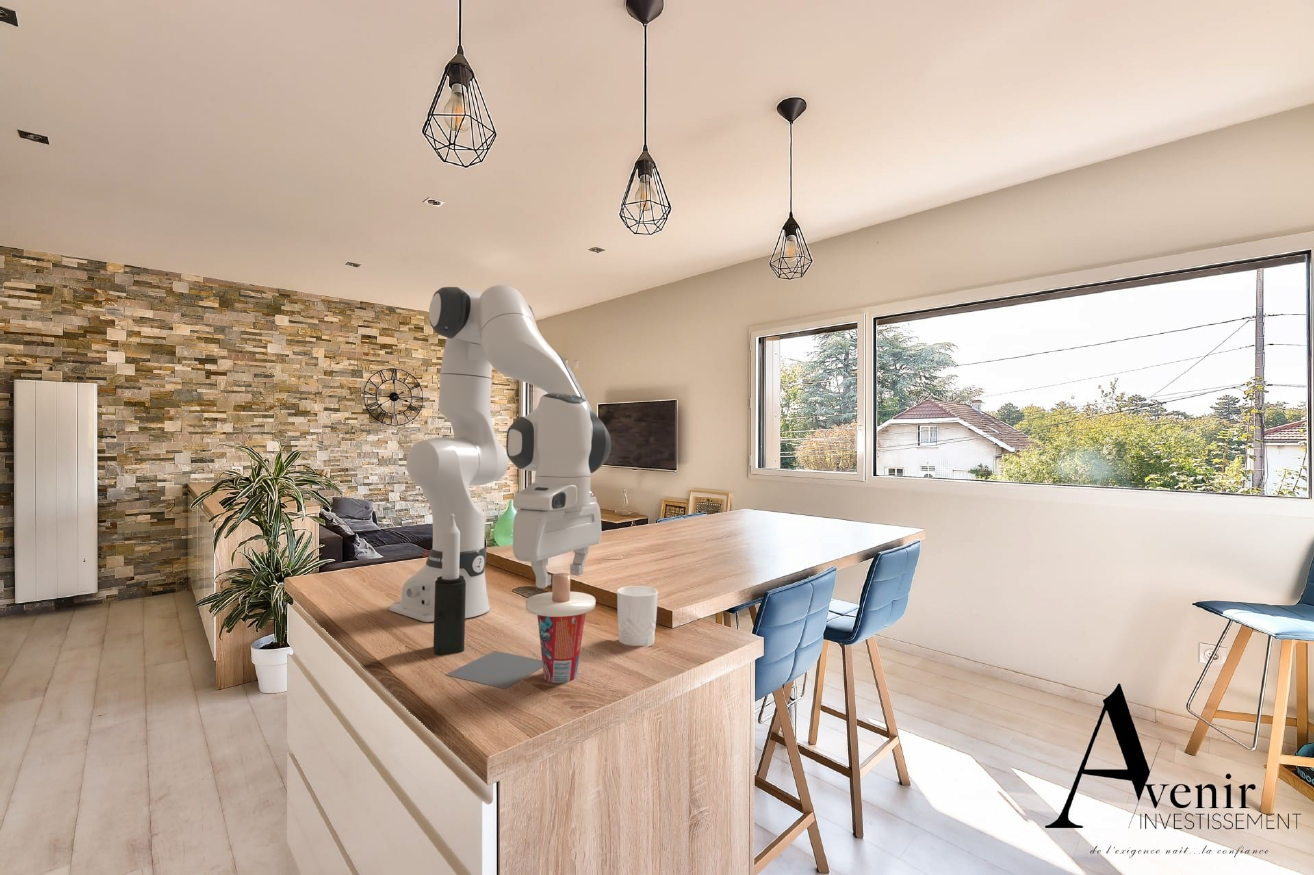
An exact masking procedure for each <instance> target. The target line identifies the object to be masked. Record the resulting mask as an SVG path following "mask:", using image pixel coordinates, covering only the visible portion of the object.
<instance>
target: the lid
mask: <svg viewBox="0 0 1314 875" xmlns="http://www.w3.org/2000/svg"><path fill="white" fill-rule="evenodd" d="M551 584H552V585H551V586H552V591H549V592H542V593H538V594H535V595H531V596H530V597H528V598H527V599H525V610H526V611H527V612H528V613H530V614H532V615H541V616H550V617H564V616H574V615H579V614H584V613H586V614H587V613H590V612H591V611H593V610H594V609H595V608H596V601H597V600H596V598H595V596H593V595H592V594H589V593H586V592H579V591H571V574H570V573H566V572H560V573H553V574H552V582H551Z"/></svg>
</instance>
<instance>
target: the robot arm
mask: <svg viewBox="0 0 1314 875" xmlns="http://www.w3.org/2000/svg"><path fill="white" fill-rule="evenodd" d="M428 315H429V324H430V326H431V328H432V329H433V331H434V333H435V334H437V335H439V336H442V337H444V338H446V340H445V343H444V348H443V353H442V358H441V362H440V363H441V364H440V377H439V392H438V404H437V405H438V409H439V412H440V413H441V414H442V416H443V417H444V418H446V419H447V420H448V421H449V423H450V425H451V428H452V431H453V437H433V438H429V439H428V438H427V439H424V440H421V441H417V442H415V444H413V446H412V447H411V448H410V450H409V451H408V454H407V457H406V470H407V473H408V475H409V478H410V479H411V480H412V481H413V482H414V483H415V484H417V485H418V486H419V487H420V489H421V490H422V491H423V494H425V497H426V499H427V500H428V504H429V506H430V510H431V511H430V512H431V517H432V548H431V549H430V550H425V551H423V552H422V554H423V555H422V558H425V557H427V558H426V559H427V560H426V562H425V565H424V566H423V567H422V568H420V569H419V570H417V572H415V574H413V575H411V577H409V578H408V579H407V580H405V582H404V583H403V585H402V588H401V590H402V591H401V596H400V597H401V598H400V600H398V601H397V600H396V601H395V602H393V603H392V604H390V605H389V609H388V611H390V612H394V613H396V614H400V615H403V616H405V617H408V618H413V619H415V620H417V621H421V622H423V623H424V622H425V623H429V622H434V605H435V581H436V580H437V578H438V577H440V576H442V555H443V532H444V531H445V529H446V528H447V526H448V523H449V520H450V514H454V520H455V523H456V527H457V528H458V530H459V531H460V559H459V575H461V576H463V577H464V579H465V582H466V598H465V619H469V618H475V617H478V616H481V615H484V614H486V613H488V612H489V611H490V610H491V605H490V601H489V596H488V591H487V582H486V572H485V571H486V570H485V568H486V563H487V547H486V546H485V531H486V529H485V528H486V522H485V521H486V516H485V512H484V511H483V509H482V508H481V507H479V505H477V504H476V503H475V502H474V499H473V498H472V495H471V491H470V486H484V485H487V484H489V483H490V484H491V483H493V482H495V481H498V480H500V479H502V478H503V477H504V476H505V475H506V473H507V471H508V469H509V462H511V463H512V464H513V466H515V467H516V468H518V469H519V470H524V471H529V472H535V474H534V482H531V484H529V485H528V486H527V487H526V488H523V489H522V490H520V491H519V492H518V493H516V494H515V495H514V497H513V507H514V508H515V509H518V510H517V512H516V513H515V515H514V518H513V523H512V524H513V525H512V526H513V527H512V552H513V553H512V554H513V555H514V557H515V559H516V560H517V561H521V562H526V563H527V562H528V563H530V567H531V569H532V570H533V574H534V575H535V586H536V587H537V588H539V589H545V588H547V587H550V586H552V585H551V584H552V582H551V580H552V574H548V570H547V567H546V566H548V565H549V559H551V558H553V557H557V556H560V555H564V554H567V553H570V552H573V553H574V557H573V558H572V559H573V560H572V563H570V564H569V565H570V566H569V569H570V570H569V574H570V576H577V577H578V576H581V575H582V574H584V571H585V570H584V564H585V562H586V560H587V557H588V554H589V547H591V546H594V545H598V544H600V542H601V539H602V532H603V531H602V515H601V507H600V505H599V503H598V501H597V500H598V499H597V496H595V494H594V492H593V491H592V490H591V480H592V477H591V474H592V473H595V472H596V471H598V470H600V468H601V467H602V466H603V465H604V464H605V462H607V460H608V458H609V456H610V454H611V450H612V440H611V436H610V433H609V430H608V428H606V425H605V424H604V423H603V421H602V420H601V419H600V417H598V415H597V414H596V413H595V411H594V410H593V408H592V406H591V404H590V403H589V400H588V399H587V397H586V395H585V393H584V392H583V389H582V387H581V385H580V384H579V382H578V379H577V378H576V376H575V374H574V373H573V371H572V369H571V368H570V366H569V364H568V363H567V361H566V359H564V358H563V357H562V356H561V355H560V354H559V353H558V352H556V351H555V350H554V348H552V346H550V344H549V343H548V342H547V340H546V339H545V338H544V337H543V335H542V333H541V332H540V331H539V328H538V326H537V323H536V320H535V314H534V311H533V308H532V307H531V306H530V305H529V304H528V302H527V301H526V299H525V298H524V296H523V294H522V293H521V292H520V291H519V290H517V289H516V288H515V287H513V286H510V285H507V284H496V285H492V286H490V287H488V288H486V289H485V290H484V291H480V290H473V289H465V288H464V289H463V288H460V287H457V286H444V287H443V286H442V287H441V288H438V290H436V291H435V292H434V294H433V296H432V299H431V301H430V303H429V308H428ZM493 368H494V370H496V371H497V372H498V373H500V374H502V375H504V376H505V377H507V378H511V379H512V380H513V379H514V380H518V381H521V382H524V383H527V384H530V385H531V386H534V387H537V388H539V389H541V390H543V391H544V392H546V394H542V396H541V397H540V398H539V401H538V404H537V406H536V408H535V409H534V410H533V411H532V412H530V413H529V414H527V415H524V416H520V417H518V418H516V419H515V420H514V421H513V422H512V424H511V425H510V426H509V428H508V429H507V431H506V432H507V433H506V440H505V441H506V442H505V443H506V446H504V445H503V444H501V442H500V441H499V439H498V437H497V434H496V432H495V429H494V424H493V421H492V414H491V413H492V410H491V405H492V404H491V398H492V380H493V379H492V378H493ZM505 447H506V448H505Z"/></svg>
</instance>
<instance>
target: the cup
mask: <svg viewBox="0 0 1314 875" xmlns="http://www.w3.org/2000/svg"><path fill="white" fill-rule="evenodd" d="M586 614H587V613H584V614H579V615H574V616H564V617H550V616H541V615H537V625H538V634H539V642H540V644H539V645H540V653H541V660H542V663H543V667H542V670H543V671H542V672H543V679H544V680H545V681H546V682H549V683H553V684H554V683H555V684H562V683H563V684H564V683H568V682H571V681H573V680H575V679H576V678H577V677H578V676H577V675H578V669H579V668H578V667H579V662H580V655H581V654H580V652H581V647H582V641H583V640H582V639H583V633H584V627H585V622H586V621H585V620H586Z"/></svg>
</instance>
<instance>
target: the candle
mask: <svg viewBox="0 0 1314 875" xmlns="http://www.w3.org/2000/svg"><path fill="white" fill-rule="evenodd" d="M459 559H460V531H459V530H458V528H457V527H456V523H455V520H454V514H450V520H449V523H448V526H447V528H446V529H445V531H444V532H443V555H442V576H440V577H438V578H437V580H436V581H435V605H434V621H433V645H432V646H433V648H432V649H433V654H434V655H436V656H444V655H452V654H460V653H463V652H464V651H465V636H466V634H465V632H466V618H465V598H466V582H465V579H464V577H463V576H461V575H459Z"/></svg>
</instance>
